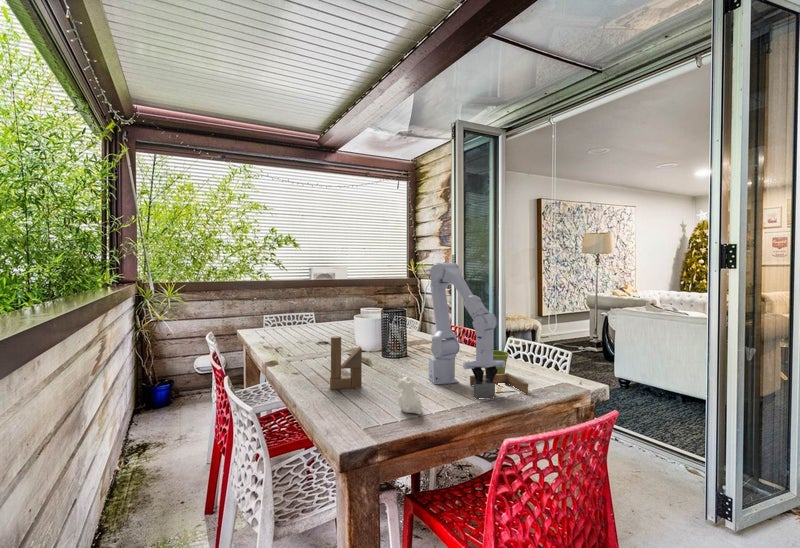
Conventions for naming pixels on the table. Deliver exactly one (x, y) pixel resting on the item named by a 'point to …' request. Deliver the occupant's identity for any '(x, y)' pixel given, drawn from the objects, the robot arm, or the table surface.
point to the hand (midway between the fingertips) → (484, 389)
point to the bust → (408, 397)
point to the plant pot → (500, 356)
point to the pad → (499, 388)
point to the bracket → (484, 389)
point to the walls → (506, 381)
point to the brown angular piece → (352, 362)
